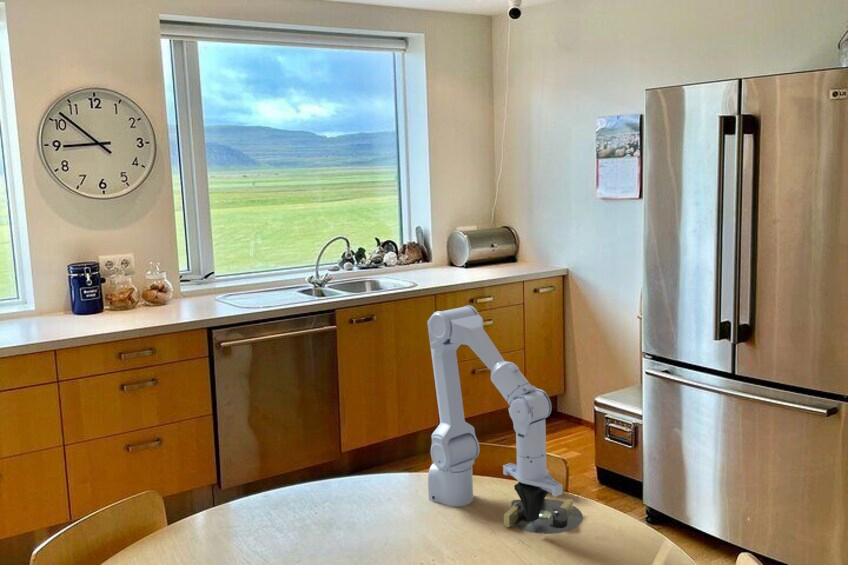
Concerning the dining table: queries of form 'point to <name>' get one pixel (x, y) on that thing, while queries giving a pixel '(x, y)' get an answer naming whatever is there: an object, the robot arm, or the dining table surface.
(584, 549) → the dining table surface
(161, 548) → the dining table surface
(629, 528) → the dining table surface
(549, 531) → the base plate
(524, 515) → the inner lever
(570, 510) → the outer lever
